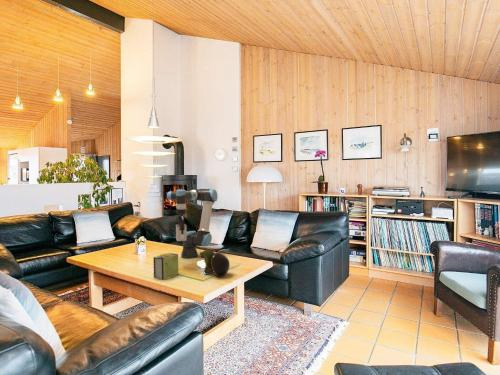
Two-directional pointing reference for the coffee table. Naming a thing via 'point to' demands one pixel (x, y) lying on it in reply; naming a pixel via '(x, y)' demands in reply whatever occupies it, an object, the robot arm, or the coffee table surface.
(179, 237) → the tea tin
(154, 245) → the coffee table surface
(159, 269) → the protein box
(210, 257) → the frog statue
